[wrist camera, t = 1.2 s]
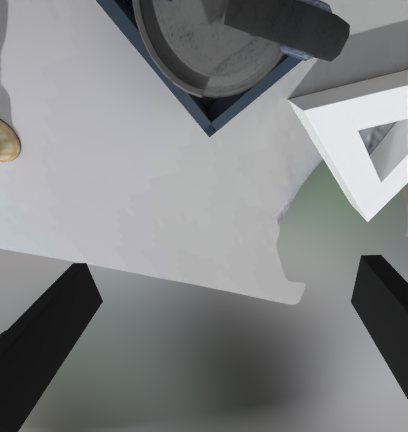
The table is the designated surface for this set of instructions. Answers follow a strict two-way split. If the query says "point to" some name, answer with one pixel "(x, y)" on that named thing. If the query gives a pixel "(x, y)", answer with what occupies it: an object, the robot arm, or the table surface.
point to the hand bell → (8, 143)
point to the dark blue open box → (205, 117)
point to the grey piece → (234, 39)
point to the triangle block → (351, 140)
